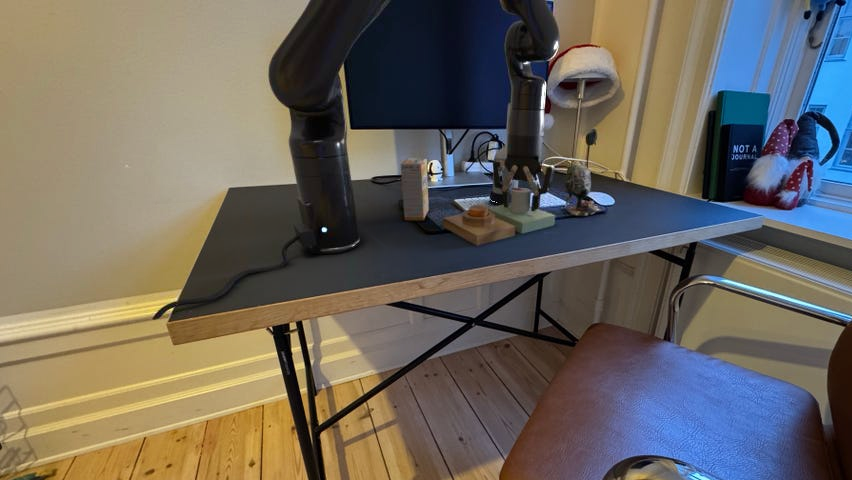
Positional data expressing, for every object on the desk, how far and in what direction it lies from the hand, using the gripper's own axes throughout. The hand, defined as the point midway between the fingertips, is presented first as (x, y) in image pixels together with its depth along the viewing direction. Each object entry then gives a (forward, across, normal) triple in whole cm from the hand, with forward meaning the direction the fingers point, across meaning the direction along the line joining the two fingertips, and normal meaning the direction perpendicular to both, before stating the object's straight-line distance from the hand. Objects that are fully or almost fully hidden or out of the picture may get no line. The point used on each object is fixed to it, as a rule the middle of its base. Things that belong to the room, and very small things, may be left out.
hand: (520, 208), depth 85 cm
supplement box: (+3, -24, -7) cm, 25 cm away
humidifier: (+3, -9, +13) cm, 16 cm away
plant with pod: (+3, +12, +14) cm, 19 cm away
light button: (0, -6, -11) cm, 12 cm away
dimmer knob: (+1, 0, 0) cm, 1 cm away
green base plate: (+3, 0, 0) cm, 3 cm away
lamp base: (+3, -6, -10) cm, 13 cm away
